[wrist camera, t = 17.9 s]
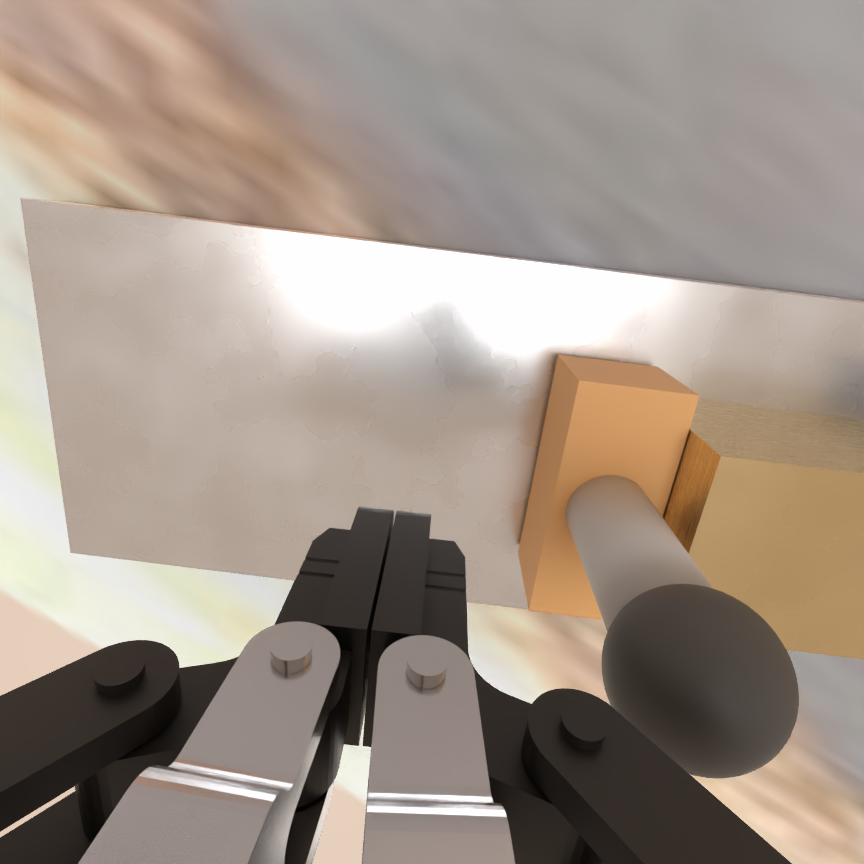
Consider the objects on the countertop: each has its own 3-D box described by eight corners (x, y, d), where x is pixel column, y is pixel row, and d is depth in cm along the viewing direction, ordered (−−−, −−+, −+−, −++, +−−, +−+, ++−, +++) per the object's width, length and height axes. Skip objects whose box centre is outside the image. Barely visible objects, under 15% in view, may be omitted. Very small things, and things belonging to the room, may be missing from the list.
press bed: (103, 524, 22) (-20, 628, 16) (67, 201, 17) (-118, 188, 12) (846, 616, 22) (983, 752, 16) (990, 316, 17) (1243, 357, 12)
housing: (609, 532, 19) (661, 634, 14) (647, 393, 17) (721, 456, 12) (841, 560, 19) (971, 672, 14) (903, 424, 17) (1076, 499, 12)
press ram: (518, 552, 19) (582, 892, 9) (558, 354, 16) (703, 533, 7) (604, 563, 19) (758, 913, 9) (657, 366, 16) (945, 563, 7)
